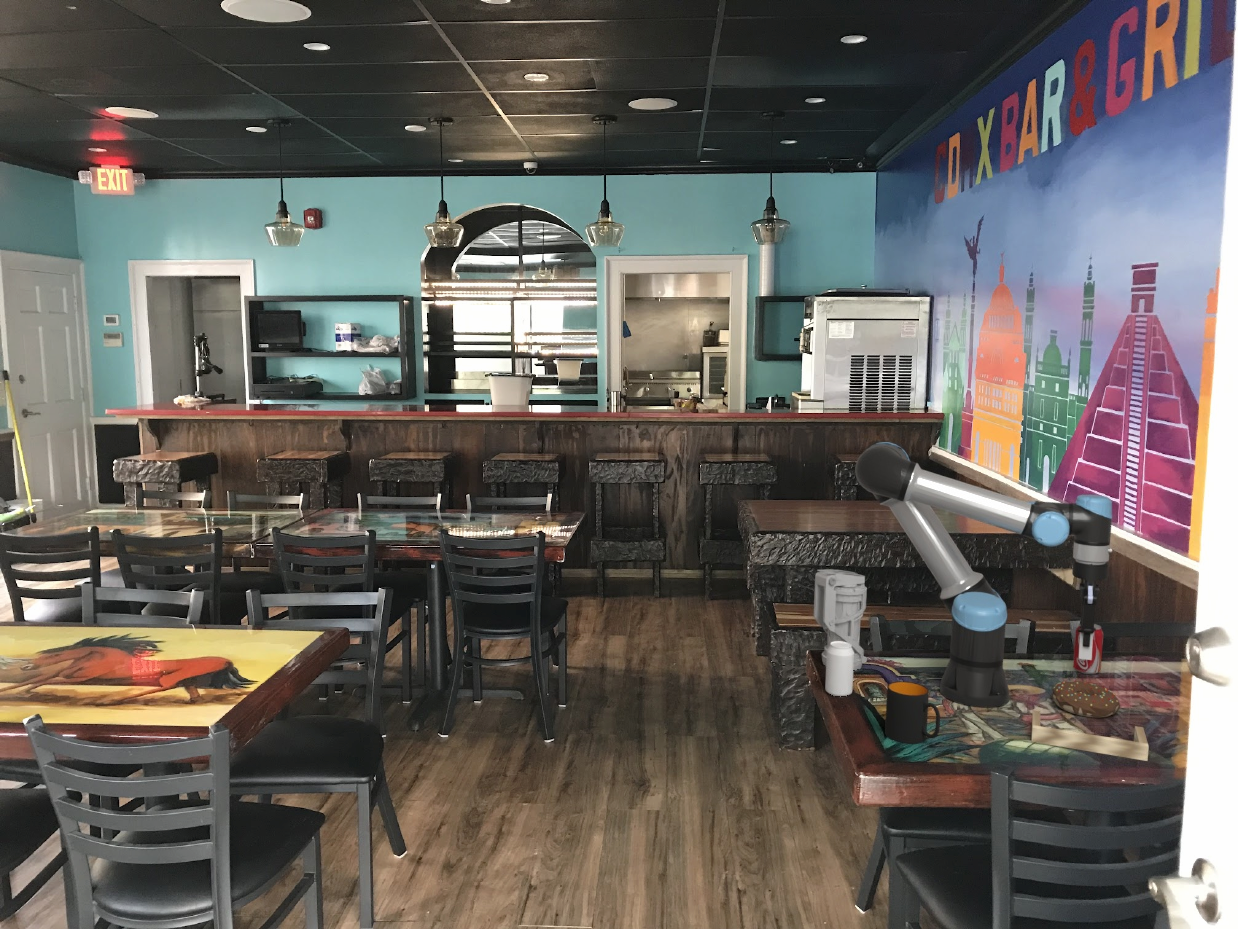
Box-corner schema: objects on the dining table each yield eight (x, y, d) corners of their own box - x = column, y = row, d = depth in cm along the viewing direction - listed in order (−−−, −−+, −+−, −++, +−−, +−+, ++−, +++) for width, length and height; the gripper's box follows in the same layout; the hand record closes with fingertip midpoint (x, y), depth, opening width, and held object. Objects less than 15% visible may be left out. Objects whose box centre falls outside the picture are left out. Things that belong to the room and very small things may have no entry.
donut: (1042, 696, 218) (1044, 676, 217) (1104, 700, 216) (1106, 679, 215) (1063, 720, 204) (1064, 698, 203) (1129, 724, 202) (1131, 702, 201)
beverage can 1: (823, 696, 215) (825, 646, 214) (827, 687, 221) (829, 638, 219) (850, 700, 213) (852, 649, 211) (854, 691, 219) (856, 642, 217)
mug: (925, 754, 185) (928, 704, 183) (876, 733, 194) (879, 686, 193) (950, 744, 190) (953, 695, 188) (901, 724, 199) (903, 678, 198)
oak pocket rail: (1031, 741, 191) (1032, 727, 191) (1031, 723, 201) (1032, 710, 201) (1147, 761, 183) (1148, 746, 183) (1141, 741, 192) (1143, 727, 192)
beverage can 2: (1103, 676, 231) (1107, 630, 230) (1076, 674, 232) (1080, 628, 231) (1095, 668, 237) (1099, 623, 236) (1069, 666, 238) (1073, 621, 237)
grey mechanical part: (846, 656, 244) (850, 563, 241) (871, 669, 234) (876, 572, 231) (805, 662, 239) (808, 567, 236) (829, 675, 229) (833, 576, 226)
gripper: (1110, 568, 209) (1104, 669, 212) (1106, 557, 221) (1101, 652, 224) (1074, 565, 212) (1068, 664, 215) (1072, 554, 224) (1066, 648, 227)
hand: (1085, 658), depth 220 cm, fingers closed
